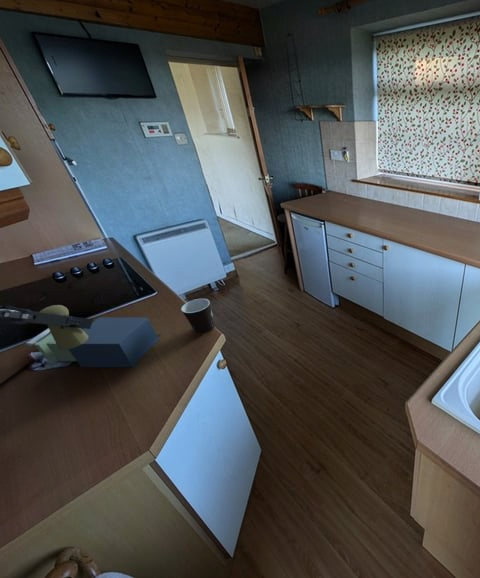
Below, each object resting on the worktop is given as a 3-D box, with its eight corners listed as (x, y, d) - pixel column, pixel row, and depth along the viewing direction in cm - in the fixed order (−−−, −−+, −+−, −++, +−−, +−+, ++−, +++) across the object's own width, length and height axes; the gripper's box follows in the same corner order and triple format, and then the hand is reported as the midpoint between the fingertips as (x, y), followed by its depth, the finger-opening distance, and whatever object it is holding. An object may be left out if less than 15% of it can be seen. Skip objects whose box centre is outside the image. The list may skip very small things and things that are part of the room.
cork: (55, 343, 78) (29, 310, 72) (84, 331, 82) (62, 299, 76) (61, 352, 75) (35, 319, 69) (91, 340, 79) (69, 307, 73)
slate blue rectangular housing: (81, 367, 89) (63, 343, 84) (113, 339, 100) (99, 317, 95) (133, 367, 90) (118, 343, 85) (159, 339, 101) (147, 317, 95)
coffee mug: (213, 334, 103) (204, 311, 98) (187, 336, 102) (176, 313, 97) (223, 315, 113) (215, 293, 108) (199, 316, 112) (190, 295, 106)
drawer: (30, 363, 89) (14, 344, 85) (64, 338, 99) (51, 320, 95) (98, 363, 90) (85, 344, 86) (125, 338, 99) (114, 320, 95)
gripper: (-95, 324, 57) (45, 334, 80) (-13, 332, 56) (107, 339, 78) (-78, 287, 59) (55, 307, 81) (2, 293, 57) (115, 312, 80)
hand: (80, 323), depth 80 cm, fingers closed on cork, 5 cm apart
